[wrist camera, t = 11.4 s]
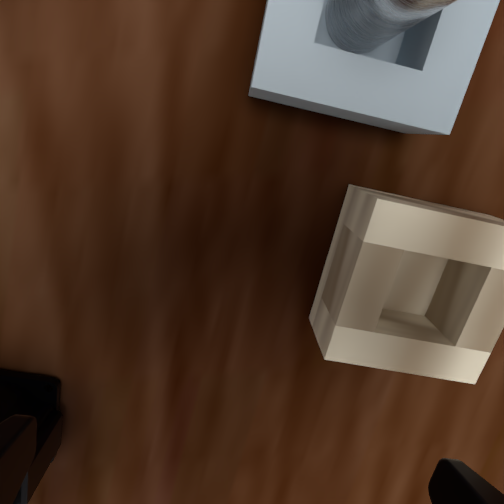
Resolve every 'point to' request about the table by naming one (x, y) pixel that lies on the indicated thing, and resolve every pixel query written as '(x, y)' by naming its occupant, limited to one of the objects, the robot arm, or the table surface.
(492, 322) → the birch block
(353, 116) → the slate block
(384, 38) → the cylinder
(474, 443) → the table surface
